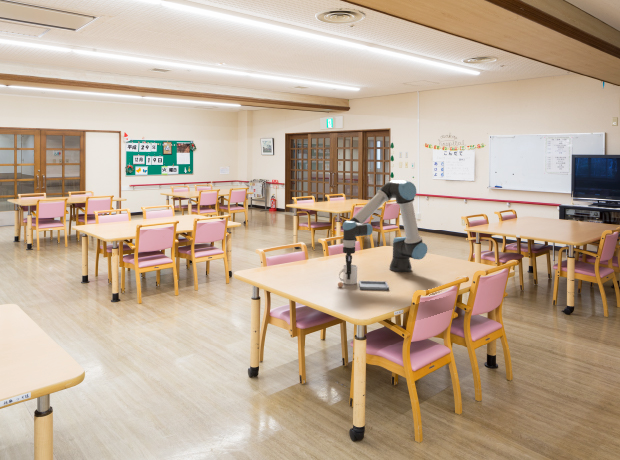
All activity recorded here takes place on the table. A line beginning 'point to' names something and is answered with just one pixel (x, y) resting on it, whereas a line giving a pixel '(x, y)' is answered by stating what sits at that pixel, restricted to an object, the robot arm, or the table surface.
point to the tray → (373, 285)
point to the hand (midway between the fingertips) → (348, 282)
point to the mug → (353, 274)
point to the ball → (340, 284)
